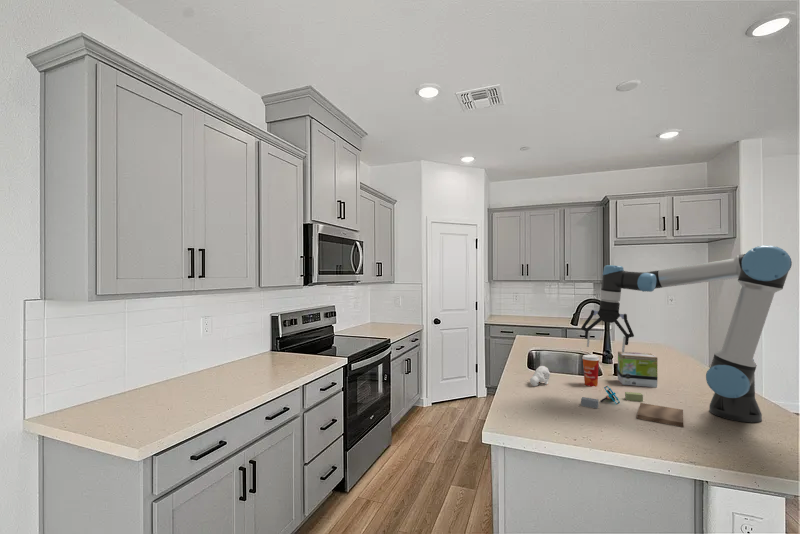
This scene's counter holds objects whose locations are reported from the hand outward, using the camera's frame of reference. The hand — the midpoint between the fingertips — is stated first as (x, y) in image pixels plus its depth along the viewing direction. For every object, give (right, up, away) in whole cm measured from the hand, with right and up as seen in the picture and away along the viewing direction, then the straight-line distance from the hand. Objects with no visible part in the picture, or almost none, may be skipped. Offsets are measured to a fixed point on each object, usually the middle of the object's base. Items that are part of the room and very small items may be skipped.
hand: (605, 349), depth 169 cm
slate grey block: (-12, -21, -10) cm, 26 cm away
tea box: (+27, -22, +21) cm, 41 cm away
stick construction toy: (-1, -22, -4) cm, 22 cm away
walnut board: (+10, -21, -22) cm, 32 cm away
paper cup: (+4, -22, +20) cm, 30 cm away
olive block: (+11, -21, -3) cm, 24 cm away
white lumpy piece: (-22, -22, +20) cm, 37 cm away
